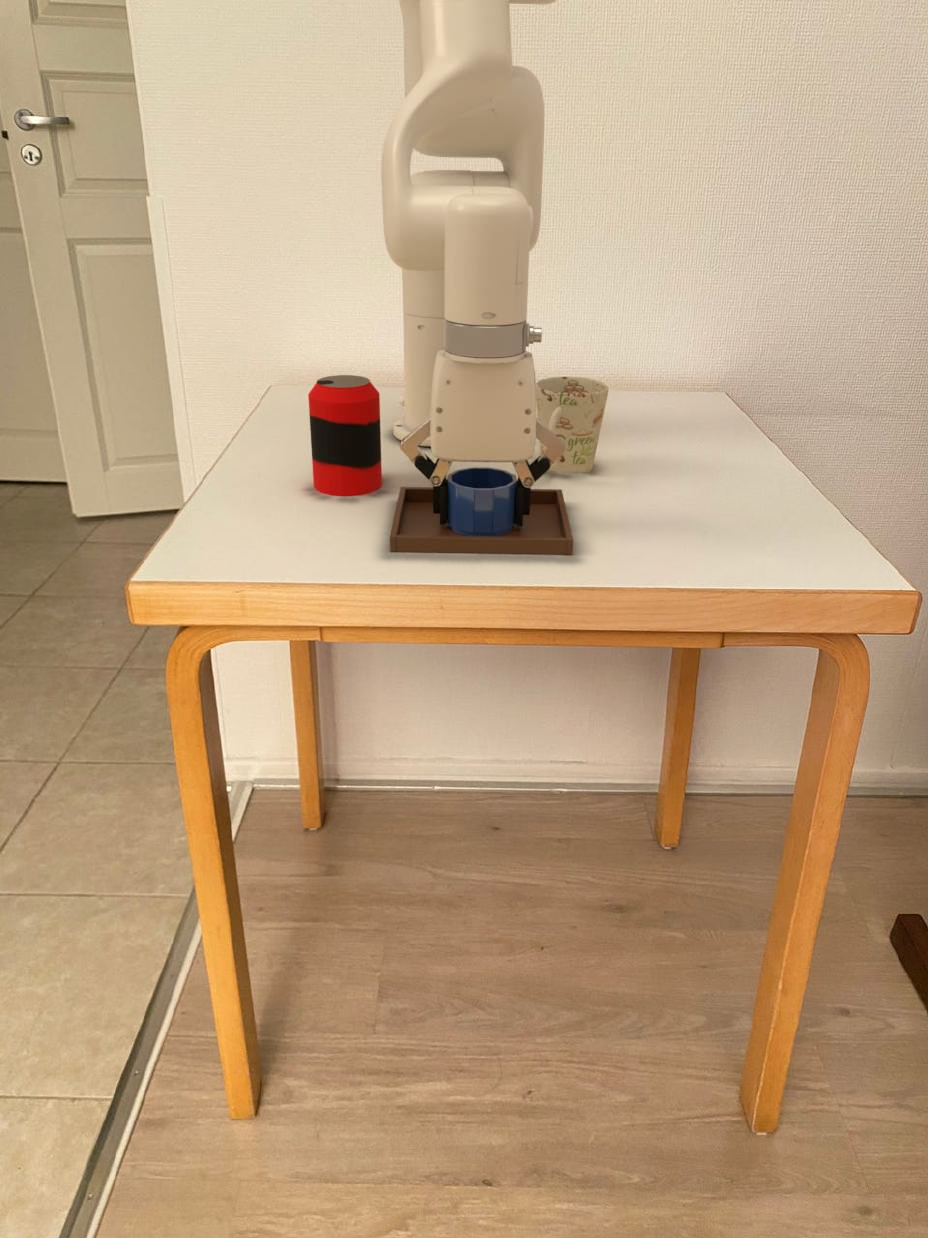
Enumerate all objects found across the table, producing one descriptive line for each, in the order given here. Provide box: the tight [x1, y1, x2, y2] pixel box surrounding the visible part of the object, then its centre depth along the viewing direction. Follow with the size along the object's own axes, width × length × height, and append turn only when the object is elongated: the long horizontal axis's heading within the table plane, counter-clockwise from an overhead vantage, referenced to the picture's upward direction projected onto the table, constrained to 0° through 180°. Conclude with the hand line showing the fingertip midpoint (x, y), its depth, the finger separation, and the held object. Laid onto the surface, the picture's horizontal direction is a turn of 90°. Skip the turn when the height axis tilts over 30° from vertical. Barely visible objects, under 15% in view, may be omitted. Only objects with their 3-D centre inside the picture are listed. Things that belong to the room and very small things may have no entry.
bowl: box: [446, 466, 518, 537], centre depth 97 cm, size 7×7×5 cm
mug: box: [535, 376, 609, 474], centre depth 112 cm, size 8×13×10 cm, turn 161°
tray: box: [389, 486, 574, 556], centre depth 98 cm, size 17×14×2 cm
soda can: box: [307, 374, 383, 497], centre depth 106 cm, size 8×8×12 cm
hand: (481, 519), depth 98 cm, fingers closed on bowl, 6 cm apart
